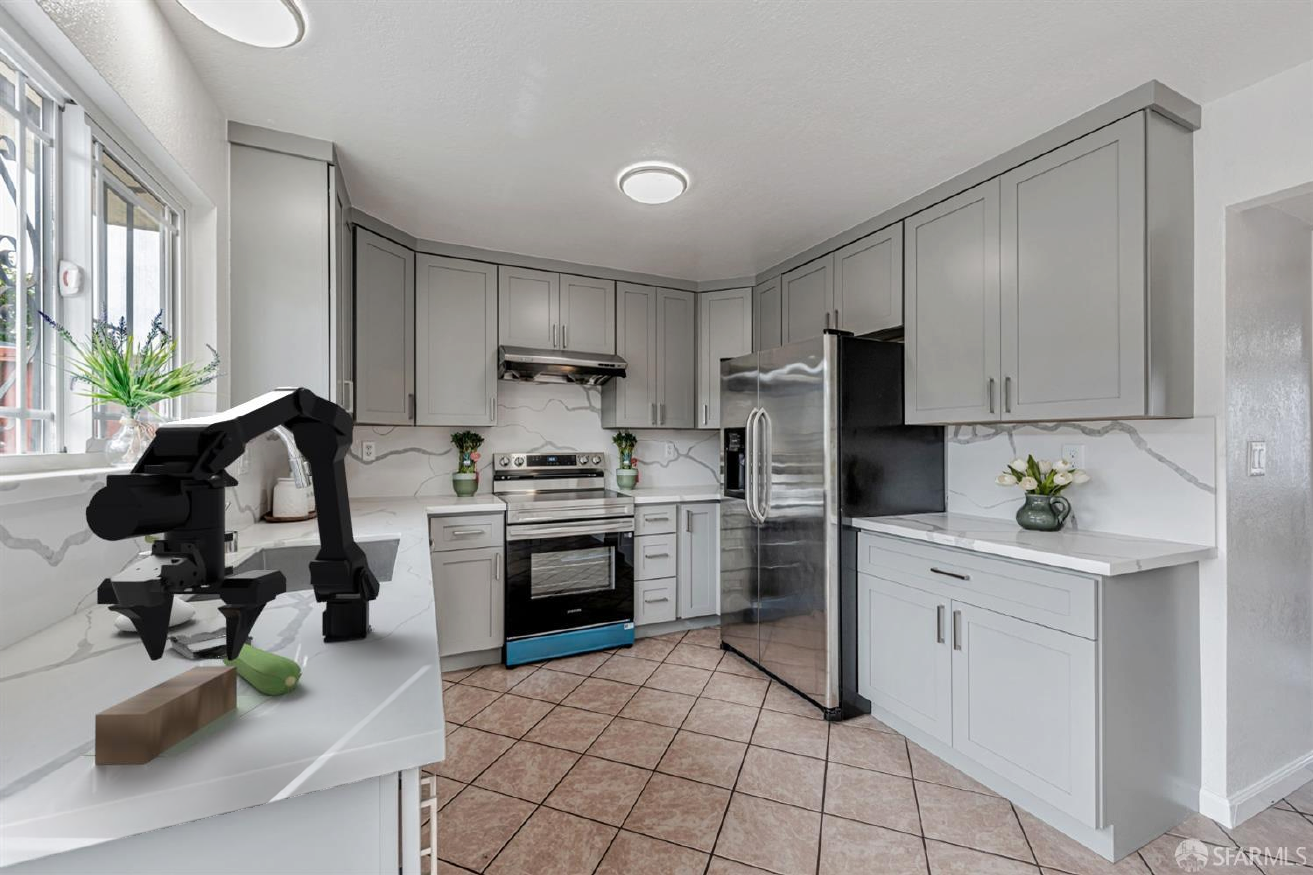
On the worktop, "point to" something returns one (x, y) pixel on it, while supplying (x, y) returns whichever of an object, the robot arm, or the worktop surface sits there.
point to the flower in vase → (179, 607)
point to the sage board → (213, 725)
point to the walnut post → (164, 715)
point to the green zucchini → (266, 670)
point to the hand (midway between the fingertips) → (194, 659)
